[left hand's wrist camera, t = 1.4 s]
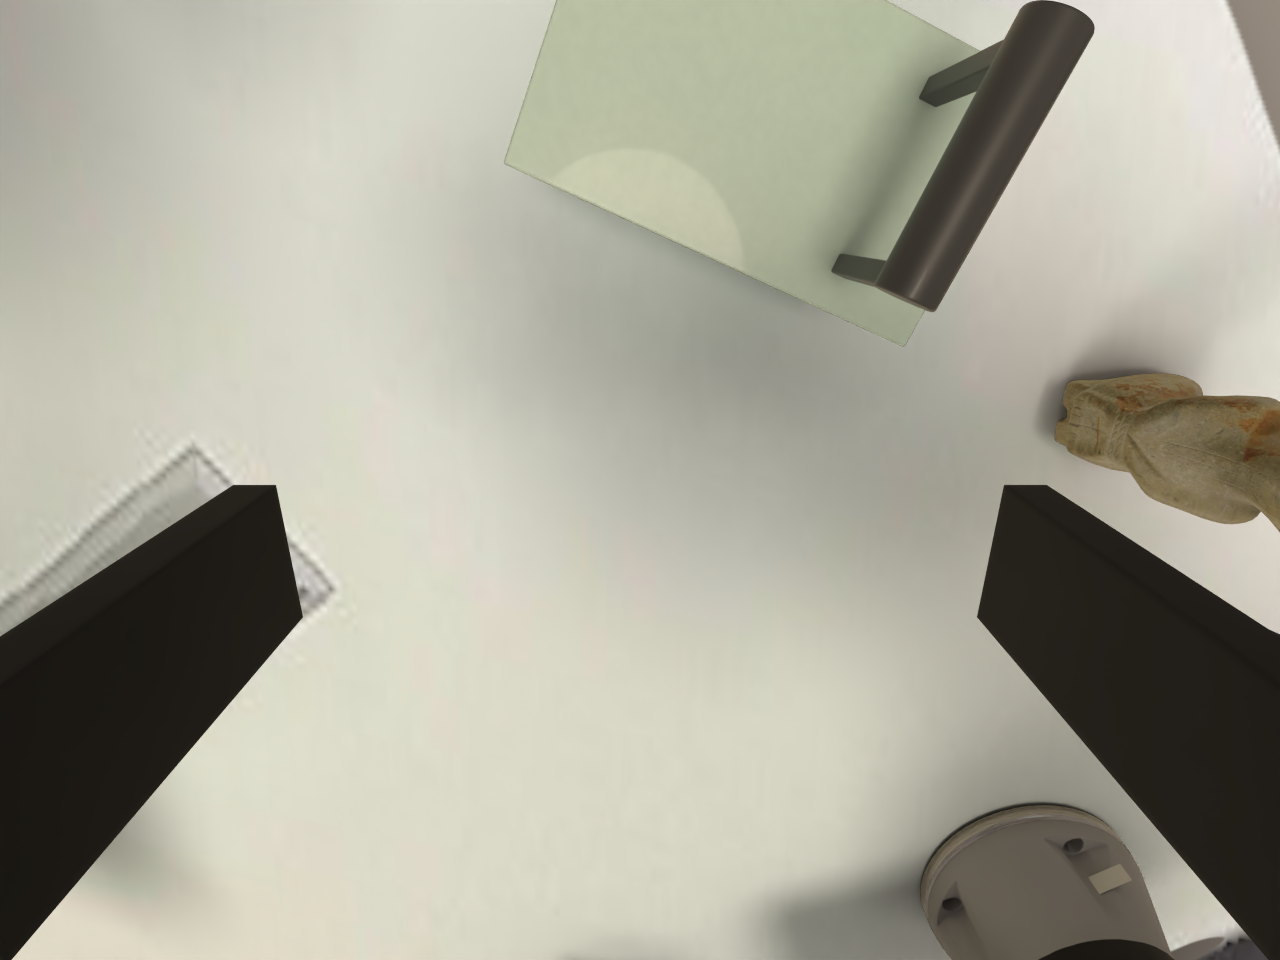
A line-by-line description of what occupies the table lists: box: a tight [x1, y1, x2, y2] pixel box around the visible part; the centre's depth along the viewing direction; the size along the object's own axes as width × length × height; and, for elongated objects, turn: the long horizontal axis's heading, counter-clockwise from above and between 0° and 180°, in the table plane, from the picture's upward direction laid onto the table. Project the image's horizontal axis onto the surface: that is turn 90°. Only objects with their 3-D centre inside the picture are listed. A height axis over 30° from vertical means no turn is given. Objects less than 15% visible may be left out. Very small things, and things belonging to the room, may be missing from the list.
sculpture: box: [1055, 373, 1280, 532], centre depth 31 cm, size 6×7×15 cm
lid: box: [504, 0, 1094, 347], centre depth 20 cm, size 16×9×9 cm, turn 67°
